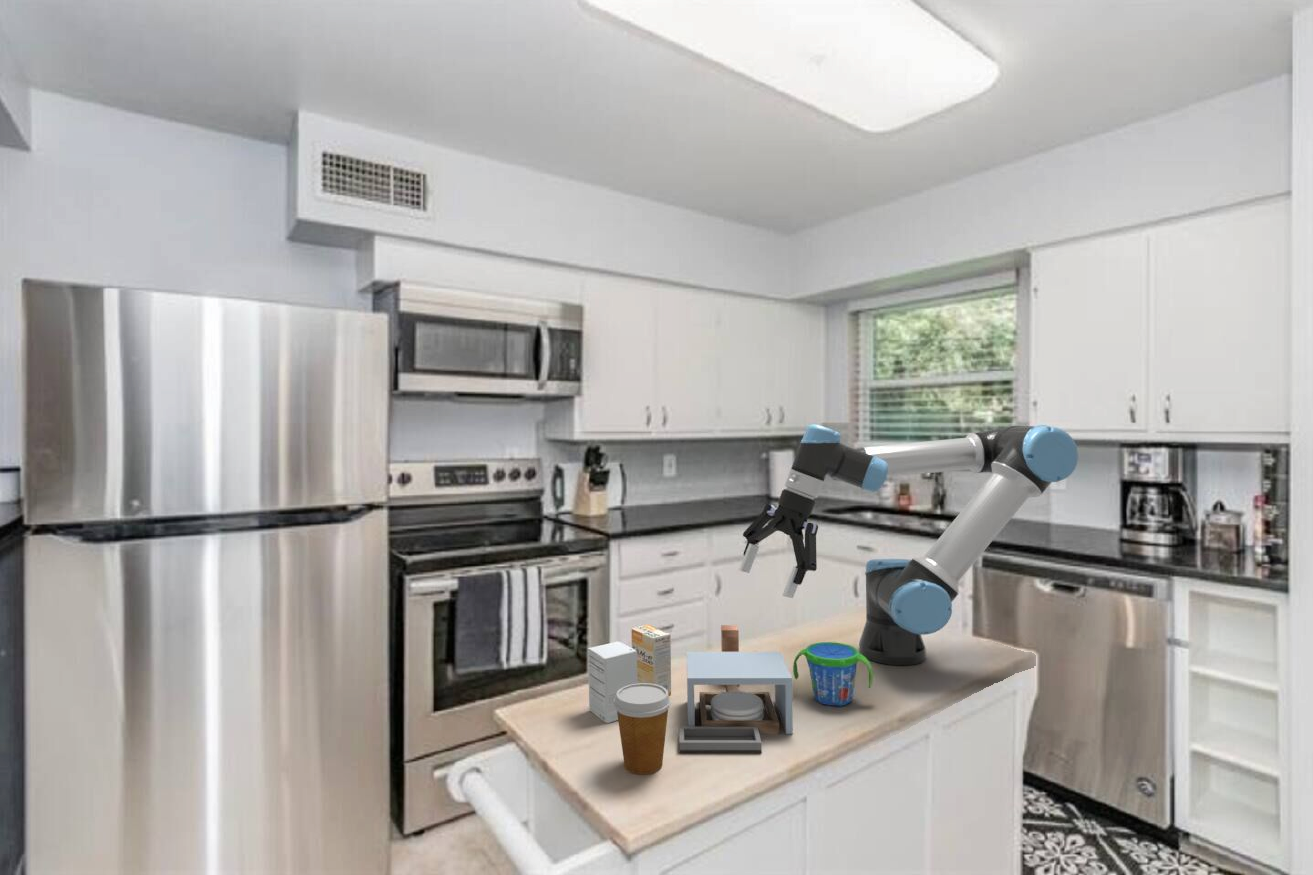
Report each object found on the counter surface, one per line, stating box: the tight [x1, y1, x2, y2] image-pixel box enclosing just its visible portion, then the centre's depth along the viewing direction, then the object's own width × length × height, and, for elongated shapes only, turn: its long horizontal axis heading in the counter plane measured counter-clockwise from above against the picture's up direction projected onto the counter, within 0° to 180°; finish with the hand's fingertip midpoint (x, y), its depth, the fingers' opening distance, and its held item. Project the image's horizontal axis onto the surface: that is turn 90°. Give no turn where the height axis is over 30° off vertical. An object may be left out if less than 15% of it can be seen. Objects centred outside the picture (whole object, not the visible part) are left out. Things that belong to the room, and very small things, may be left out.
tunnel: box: [686, 651, 794, 735], centre depth 128 cm, size 19×14×10 cm
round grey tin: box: [710, 690, 764, 721], centre depth 128 cm, size 10×10×4 cm
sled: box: [698, 624, 780, 735], centre depth 134 cm, size 14×26×12 cm, turn 178°
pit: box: [678, 726, 763, 754], centre depth 117 cm, size 14×6×2 cm, turn 88°
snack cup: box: [792, 641, 874, 707], centre depth 135 cm, size 16×10×10 cm
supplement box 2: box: [630, 624, 672, 696], centre depth 140 cm, size 8×5×13 cm, turn 37°
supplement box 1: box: [587, 641, 638, 724], centre depth 131 cm, size 7×7×13 cm
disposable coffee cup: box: [614, 683, 672, 775], centre depth 110 cm, size 10×10×12 cm
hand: (765, 583), depth 147 cm, fingers open, 13 cm apart
